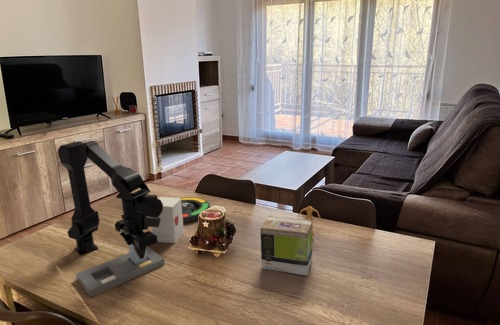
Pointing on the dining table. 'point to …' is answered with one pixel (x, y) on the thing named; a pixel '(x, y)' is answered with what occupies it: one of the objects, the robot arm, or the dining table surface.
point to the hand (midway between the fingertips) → (138, 255)
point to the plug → (136, 256)
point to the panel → (116, 272)
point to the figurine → (309, 212)
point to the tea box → (286, 245)
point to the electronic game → (192, 207)
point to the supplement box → (170, 221)
